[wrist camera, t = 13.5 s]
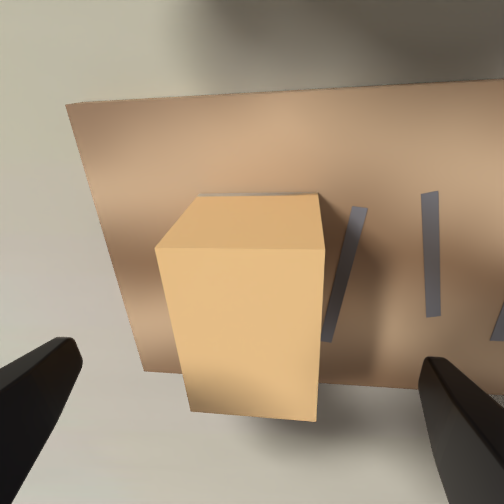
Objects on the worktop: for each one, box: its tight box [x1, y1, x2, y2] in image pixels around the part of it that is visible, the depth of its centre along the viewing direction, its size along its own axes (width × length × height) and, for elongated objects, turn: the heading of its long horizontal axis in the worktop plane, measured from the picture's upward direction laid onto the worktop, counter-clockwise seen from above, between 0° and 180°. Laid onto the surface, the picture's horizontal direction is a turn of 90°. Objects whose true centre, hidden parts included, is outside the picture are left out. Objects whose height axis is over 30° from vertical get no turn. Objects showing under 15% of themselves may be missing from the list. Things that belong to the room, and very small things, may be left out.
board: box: [65, 79, 504, 395], centre depth 12 cm, size 12×22×1 cm, turn 93°
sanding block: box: [155, 192, 325, 422], centre depth 11 cm, size 6×4×4 cm, turn 3°
